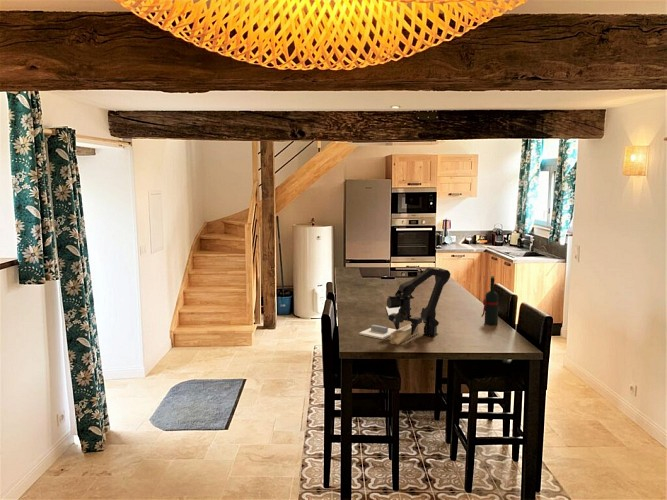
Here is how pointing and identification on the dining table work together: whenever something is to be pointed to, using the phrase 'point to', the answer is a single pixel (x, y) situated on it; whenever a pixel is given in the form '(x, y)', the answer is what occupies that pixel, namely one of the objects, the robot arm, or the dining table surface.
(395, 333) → the birch bar
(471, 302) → the dining table surface
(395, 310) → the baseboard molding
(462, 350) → the dining table surface
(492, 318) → the wine bottle
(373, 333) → the ridge stand
